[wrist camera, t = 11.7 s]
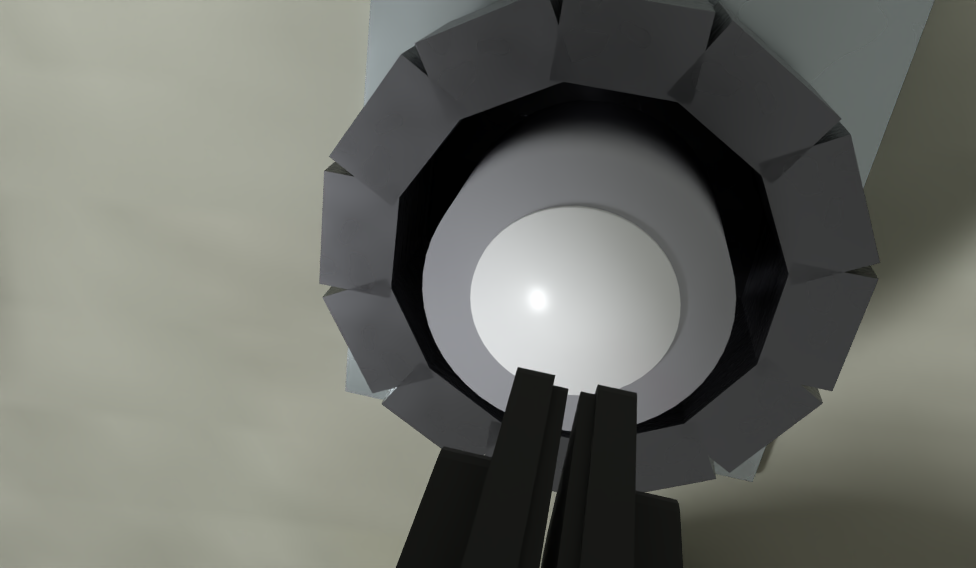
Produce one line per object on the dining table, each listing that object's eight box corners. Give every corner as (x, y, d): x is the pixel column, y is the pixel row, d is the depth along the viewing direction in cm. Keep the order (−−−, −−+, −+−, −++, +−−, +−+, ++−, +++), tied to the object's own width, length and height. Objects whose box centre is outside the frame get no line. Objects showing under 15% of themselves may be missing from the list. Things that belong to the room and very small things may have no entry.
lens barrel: (383, -139, 17) (309, -151, 13) (948, -53, 16) (1044, -38, 12) (348, 385, 24) (291, 478, 20) (750, 475, 22) (773, 592, 19)
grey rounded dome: (480, 79, 18) (436, 126, 14) (750, 127, 17) (779, 189, 13) (451, 311, 20) (407, 401, 17) (682, 359, 20) (690, 463, 16)
